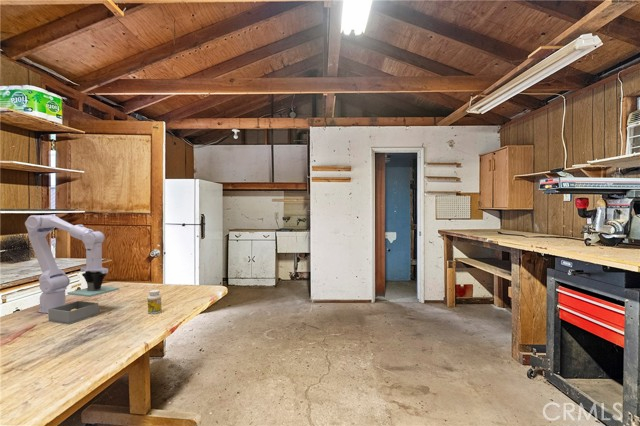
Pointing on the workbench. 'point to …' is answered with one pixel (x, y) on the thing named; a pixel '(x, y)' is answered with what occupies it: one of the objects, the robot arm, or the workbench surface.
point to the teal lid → (92, 290)
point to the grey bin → (73, 312)
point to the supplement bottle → (154, 302)
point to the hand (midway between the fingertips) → (94, 288)
